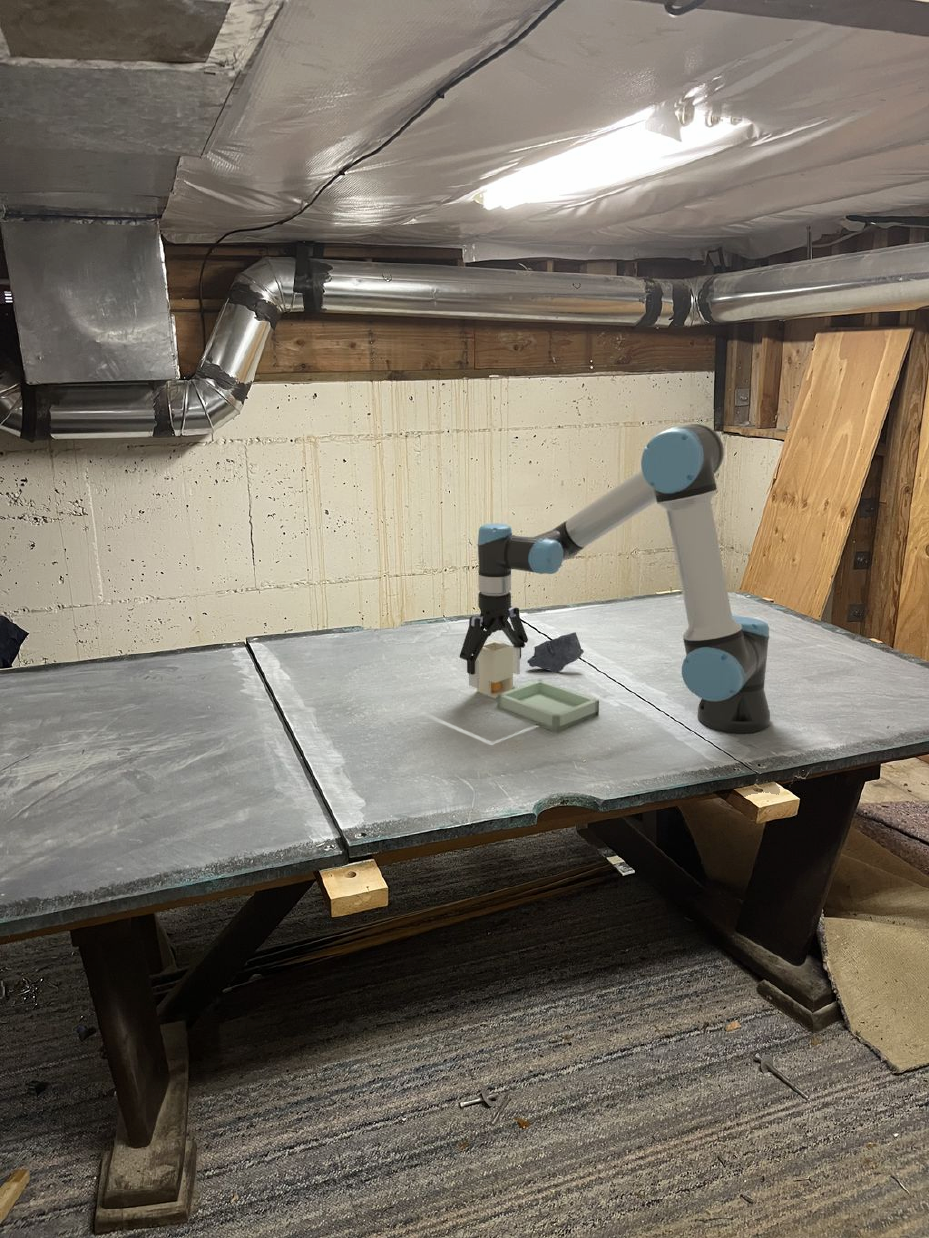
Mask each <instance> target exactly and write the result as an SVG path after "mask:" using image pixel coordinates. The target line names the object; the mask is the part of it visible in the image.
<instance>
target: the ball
mask: <svg viewBox="0 0 929 1238" xmlns="http://www.w3.org/2000/svg"><path fill="white" fill-rule="evenodd" d="M500 688H501V683H500V681H499V682H496V683H493V682H491V691H493V692H496V691H498V690H499V689H500Z"/></svg>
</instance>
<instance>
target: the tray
mask: <svg viewBox="0 0 929 1238" xmlns="http://www.w3.org/2000/svg"><path fill="white" fill-rule="evenodd" d="M496 700H497V701H496V707H499V708H500V709H503V710H506V711H509V712H511V713H513V714H516V715H518V716H521V717H524V718H526V719H527V720H531V721H533V722H536V723H535V725H536V726H539V727H541V728H544V729H546V730H549V731H550V732H554V733H559V732H561V731H564V730H565V729H568V728H571V727H573V726H576V725H578V724H580V723H583V722H585V721H588V720H589V719H593V718H594V717H598V716H599V714H600V712H599V711H600V700H599V699H597V698H594V697H591V696H588V695H585V694H582V693H579V692H577V691H573V690H571V689H568V688H565V687H563V686H560V685H556V684H553V683H550V682H548V681H545V680H542V679H537V680H535V681H532V682H530V683H527V684H526V683H525V684H524V685H521V686H518V687H515V688H513V689H512V690H509V691H506V692H504V693H501V694H498V695H497V697H496Z"/></svg>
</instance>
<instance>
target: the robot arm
mask: <svg viewBox="0 0 929 1238" xmlns="http://www.w3.org/2000/svg"><path fill="white" fill-rule="evenodd" d="M722 441H723V440H722V438H721V437H720V436H719V434H718V432H716V431H715V430H714V429H712V428H711V427H709V426H707V425H704V424H698V423H691V424H687V425H682V426H678V427H677V426H676V427H670V428H668V429H666V430H665V429H664V430H662V431H661V432H659V433H657V434H656V435H654V436H653V437H652V438H651V439H650V440H649V441H648V443H647V444H646V446H645V447H644V449H643V451H642V456H641V461H640V462H641V463H640V466H641V469H640V470H639V471H637V472H636V473H635V474H633V475H631V476H629V477H628V478H627V479H626V480H624V481H623V482H622V483H620V484H618V485H617V486H615V487H613V489H610V490H609V491H607V492H606V493H605V494H604V495H602V496H601V497H599V498H598V499H596V500H594V501H593V502H592V503H590V504H589V505H587V506H585V507H584V508H583V509H582V510H580V511H578V512H577V513H576V514H574V515H573V516H571V517H570V518H568V519H567V520H566V521H564V522H562V523H561V524H559V525H558V526H556V527H555V528H553V529H551V530H549V531H547V532H546V531H545V532H543V533H541V534H538V535H536V536H532V537H531V536H522V535H521V536H518V535H515V534H514V535H513V530H512V527H511V525H509V524H505V523H500V522H499V523H497V522H496V523H495V522H494V523H493V522H492V523H485V524H484V525H483V524H482V525H481V526H480V527H479V528H478V536H477V537H478V538H477V539H478V540H477V543H476V544H477V545H476V546H477V554H478V555H477V556H478V572H477V573H478V575H477V577H478V579H477V581H478V591H479V592H478V597H477V599H478V601H477V602H478V603H477V604H478V609H479V610H480V614H479V616H476V617H475V616H470V617H469V620H468V621H469V622H468V628H467V631H466V635H465V638H464V641H463V644H462V647H461V651H460V652H459V653H460V654H459V658H460V659H462V660H465V661H466V673H467V674H468V686H470V687H472V688H475V689H477V688H479V661H478V660H477V657H478V655H479V653H480V651H481V650H482V648H483V646H484V644H486V641H487V639H488V638H489V637H490V636H491V635H492V634H493V633H496V632H497V631H502V632H503V633H504V634H505V636H506V638H507V639H508V640H509V642H510V643H511V645H512V646H513V674H515V675H519V674H520V672H521V669H520V668H521V663H520V662H521V659H522V649H524V648H525V647H526V643H528V641H529V638H528V635H527V633H526V630H525V628H524V625H523V624H524V623H523V621H522V620H521V617H520V608H518V607H515V606H512V593H511V592H510V591H512V570H515V571H523V572H529V573H530V572H531V573H536V574H538V575H540V574H541V575H543V574H544V575H545V574H548V575H553V574H557V572H558V571H559V569H560V568H561V567H562V564H563V561H565V560H566V561H567V560H570V559H571V558H574V557H576V556H577V555H578V554H579V553H580V551H582V550H584V549H585V548H586V547H588V546H589V545H592V544H593V543H594V542H596V541H597V540H599V539H601V537H603V536H605V535H607V534H608V533H610V532H611V531H613V530H614V529H616V528H617V527H619V526H621V525H622V524H623V523H625V522H627V521H629V520H630V519H632V518H633V517H635V516H637V515H638V514H640V513H641V512H643V511H644V510H646V509H647V508H649V507H650V506H652V505H654V504H655V503H656V504H657V505H658V506H660V507H662V509H664V510H665V511H666V515H667V519H668V520H667V521H668V526H669V531H670V536H671V541H672V546H673V551H674V557H675V561H676V567H677V572H678V577H679V582H680V583H679V584H680V587H681V593H682V597H683V598H682V599H683V602H684V604H683V605H684V609H685V614H686V620H687V625H688V626H687V629H686V630H685V632H684V633H683V634H682V639H683V645H684V649H685V655H686V656H685V658H684V659H683V660H682V666H681V677H682V680H683V683H684V684H685V686H686V688H687V689H688V690H689V691H690V692H691V693H692V694H694V695H696V696H697V697H698V698H699V699H700V701H699V704H698V705H697V706H698V707H697V719H698V721H699V722H700V723H701V724H703V725H704V726H706V727H708V728H710V729H711V728H712V729H713V730H717V731H721V732H725V733H734V734H751V733H758V732H761V731H764V730H766V729H767V728H769V726H770V724H771V723H770V722H771V721H770V720H771V713H770V709H769V704H768V700H767V696H766V692H765V681H766V670H767V658H768V648H769V640H770V627H769V625H768V623H767V622H766V621H764V620H761V619H757V618H754V617H748V616H739V615H732V610H731V603H730V599H729V593H728V588H727V582H726V576H725V571H724V566H723V560H722V559H723V558H722V556H721V555H722V554H721V550H720V545H719V539H718V534H717V533H718V532H717V529H716V528H717V527H716V522H715V517H714V516H715V515H714V511H713V506H712V499H713V497H714V495H715V494H716V493H717V491H718V487H717V481H716V478H715V474H716V473H717V472H718V470H719V469H720V467H721V465H722V463H723V460H724V455H725V453H724V451H725V448H724V443H723V442H722ZM509 620H510V621H509Z"/></svg>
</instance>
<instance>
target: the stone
mask: <svg viewBox="0 0 929 1238" xmlns="http://www.w3.org/2000/svg"><path fill="white" fill-rule="evenodd" d="M533 648H534V652H533V655H532V656H531V657H530V658H529V659H528V660H527V664H528V665H529V666H530V667H531V668H534V667H538V668H540V669H542V670H548V671H550V672H551V673H555V674H559V673H560V672H561V671H563V670H564V668H565V667H566V666H567V665H569V664H572V663H573V662H575V661H577V660H578V659H581V657H582V655H583V653H585V651H584V649H583V648H582V646H581V643H580V640H579V637H578V635H577V632H571V633H567V634H563V635H560V636H559V637H556V638H554V639H550V640H546V641H543V642H542V643H540V644H538V645H535V646H534V647H533Z"/></svg>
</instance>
